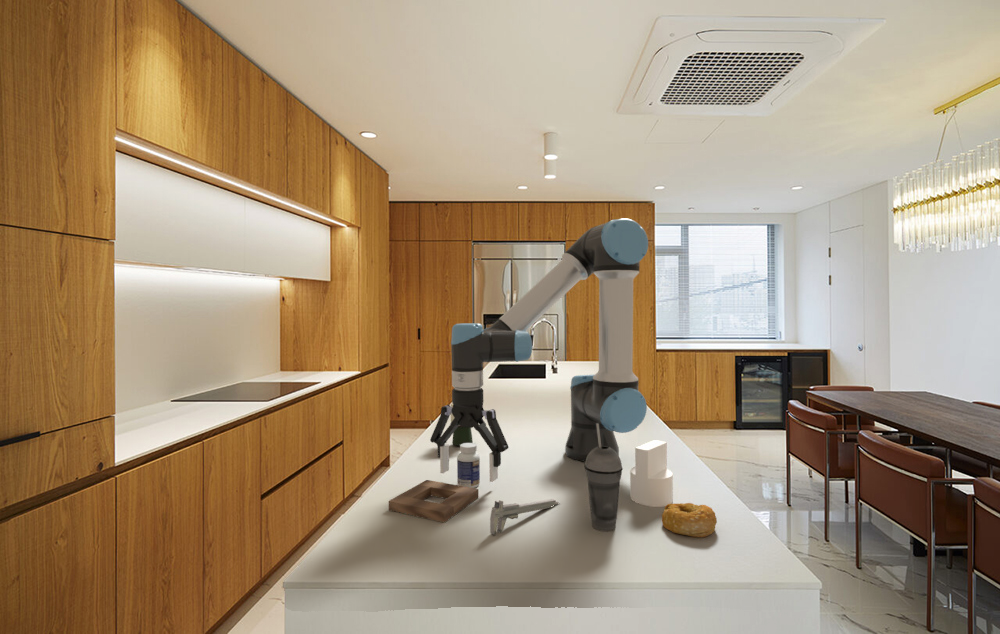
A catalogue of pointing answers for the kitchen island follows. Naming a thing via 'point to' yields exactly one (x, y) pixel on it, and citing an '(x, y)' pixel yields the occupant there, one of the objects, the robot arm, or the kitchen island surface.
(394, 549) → the kitchen island surface
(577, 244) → the robot arm
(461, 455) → the pill bottle
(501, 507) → the caliper
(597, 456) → the beverage cup
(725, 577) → the kitchen island surface
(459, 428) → the character mug
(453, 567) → the kitchen island surface
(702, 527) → the bagel
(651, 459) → the cylinder with rectangular tab
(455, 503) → the holder block
